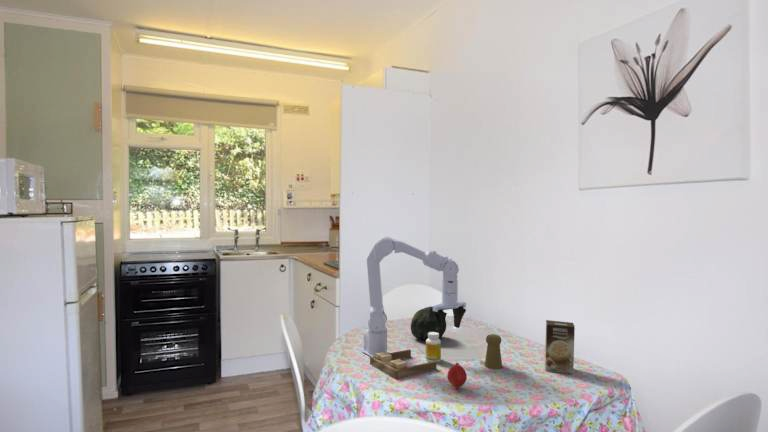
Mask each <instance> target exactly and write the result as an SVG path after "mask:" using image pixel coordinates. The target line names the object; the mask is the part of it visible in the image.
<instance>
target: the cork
mask: <svg viewBox="0 0 768 432" xmlns="http://www.w3.org/2000/svg"><path fill="white" fill-rule="evenodd" d="M485 342H486V344H487V347H486V354H485V360H484V367H485V368H487V369H490V370H501V369H503V361H502V353H501V352H502V351H501V345H502V344H501V343H502V337H501V336H500V335H499V334H494V333H493V334H492V333H491V334H487V335H486V338H485Z"/></svg>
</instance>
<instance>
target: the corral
mask: <svg viewBox="0 0 768 432" xmlns="http://www.w3.org/2000/svg"><path fill="white" fill-rule="evenodd" d="M389 354H391V355H392V361H393V360H397V359H400V360H402V359H406V358H411V357H412V350H411V349H405V350H399V351H394V352H390V353H389ZM437 363H438V362H436V361H433V362H429V361H427V362H425V363H419V364H415V365H410V366H407V367H406V368H401V369H397V370H396V369H394V368H392V367H390V366H389V365H387V364H385V363H383V362H381V361H380V360H378V359H376V356H373V357H371V356H369V365H371V366H372V367H374V368H376V369H377V370H379V371H381V372H382V373H384V374H386V375H388V376H389V377H391V378H393V379H394V380H396V379H401V378H404V377H408V376H413V375H417V374H418V375H419V374H421V373H426V372H431V371H435V370H437Z"/></svg>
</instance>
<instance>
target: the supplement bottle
mask: <svg viewBox="0 0 768 432" xmlns="http://www.w3.org/2000/svg"><path fill="white" fill-rule="evenodd" d="M438 338H439V333H437V332H429V333H428V339H427V340H425V360H426V361H427V362H433V361H436V362H437V363H439V362H441V360H442V359H441V358H442V341H441V338H440V339H438Z"/></svg>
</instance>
